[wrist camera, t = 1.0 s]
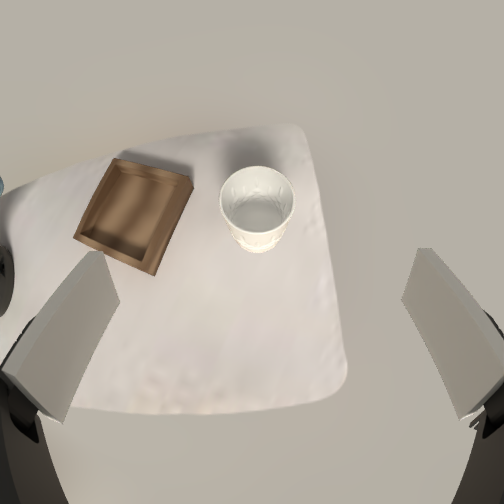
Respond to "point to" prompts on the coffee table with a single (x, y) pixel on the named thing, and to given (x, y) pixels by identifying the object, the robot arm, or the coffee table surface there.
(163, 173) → the tray
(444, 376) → the robot arm
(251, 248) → the white cup
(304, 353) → the coffee table surface
